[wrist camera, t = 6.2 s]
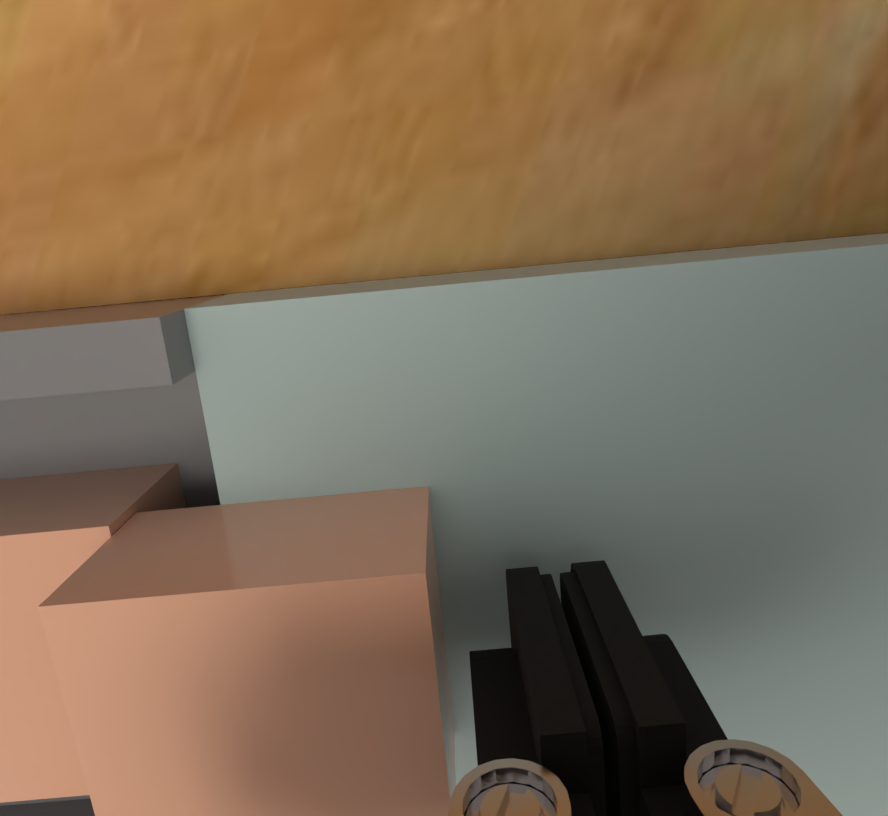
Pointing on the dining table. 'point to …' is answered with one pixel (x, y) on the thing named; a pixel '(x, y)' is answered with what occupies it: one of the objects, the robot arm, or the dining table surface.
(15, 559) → the tile
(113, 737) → the tile
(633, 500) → the pale green lid panel
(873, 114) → the dining table surface
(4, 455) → the tray
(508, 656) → the robot arm
